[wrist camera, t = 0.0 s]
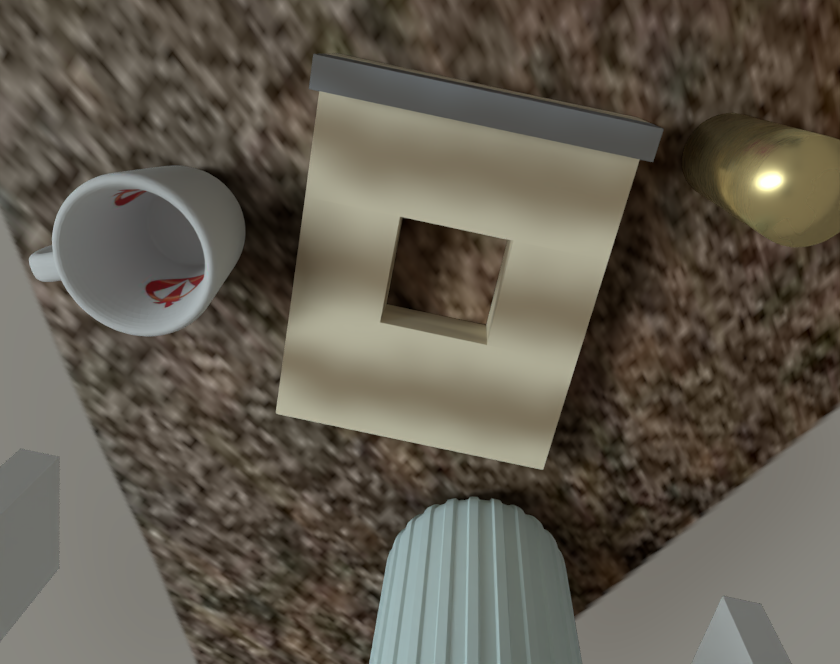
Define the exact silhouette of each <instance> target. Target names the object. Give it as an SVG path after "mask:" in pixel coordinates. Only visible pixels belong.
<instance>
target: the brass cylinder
mask: <svg viewBox="0 0 840 664" xmlns="http://www.w3.org/2000/svg"><path fill="white" fill-rule="evenodd" d="M682 170H683V174H684V176H685V179H686V181H687V182H688V184H689V185H690V186H691V187H692V188H693V189H694V190H695V191H696V192H698V193H699V194H701V195H702V196H704V197H705V198H707V199H708V200H710V201H711V202H713V203H714V204H716V205H718V206H719V207H721V208H722V209H724V210H725V211H727V212H728V213H730V214H731V215H733V216H734V217H736V218H737V219H739V220H740V221H742V222H743V223H745V224H746V225H748V226H749V227H751V228H753V229H754V230H756V231H757V232H759V233H760V234H762V235H763V236H765V237H766V238H768V239H769V240H771V241H773V242H775V243H777V244H780V245H784V246H789V247H806V246H811V245H815V244H818V243H821V242H823V241H826V240H828V239H830V238H831V237H833V236H835V235H836V234H837V233H839V232H840V140H838V139H836V138H832V137H829V136H825V135H821V134H817V133H813V132H809V131H805V130H801V129H797V128H793V127H789V126H786V125H782V124H778V123H774V122H770V121H766V120H762V119H758V118H754V117H750V116H746V115H742V114H737V113H726V114H721V115H717V116H714V117H712V118H710V119H708V120H706V121H705V122H703V123H702V124H700V125H699V126H698V127H697V128H696V129H695V130H694V131H693V132H692V134H691V135H690V137H689V138H688V140H687V142H686V144H685V147H684V150H683V154H682Z"/></svg>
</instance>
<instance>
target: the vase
mask: <svg viewBox="0 0 840 664" xmlns="http://www.w3.org/2000/svg"><path fill="white" fill-rule="evenodd" d="M369 664H582V660H581V653H580V647H579V642H578V636H577V630H576V624H575V618H574V612H573V607H572V601H571V595H570V589H569V583H568V577H567V572H566V566H565V562H564V558H563V556H562V553H561V551H560V550H559V549H558V546H557V543H556V540H555V539H554V537H553V536H552V534H551V533H550V532H549V531H548V530H545V529H543V526H542V524H541V523H540V522H539V521H538V520H537V519H536V518H535V517H534V516H531V515H526V514H525V513H524V511H523V510H522V509H521V508H519V507H517V506H515V505H509V506H508V505H505V504H502V502H501V501H500V500H497V499H493V498H491V500H490V501H489V500H480V499H479V498H478V497H469V499H468V500H458V499H457V498H454V499H450V500H447V502H446V503H445V504H442V505H438V504H436V505H432V506H430V507H428V508H427V509H426V510H425V512H424V514H419V515H416V516H415V517H414V518H413V519H412V520H410V521H409V522H408V524H407V527H406V528H405V529H403V530H402V531H401V532H400V533H399V534H398V536H397V537H396V539H395V541H394V544H393V548H392V549H391V551H390V553H389V556H388V559H387V564H386V570H385V576H384V581H383V587H382V593H381V599H380V604H379V610H378V616H377V622H376V628H375V633H374V639H373V645H372V651H371V656H370V662H369Z"/></svg>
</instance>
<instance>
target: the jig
mask: <svg viewBox="0 0 840 664" xmlns="http://www.w3.org/2000/svg"><path fill="white" fill-rule="evenodd" d="M309 89H312V90H316V91H319V98H318V106H317V113H316V120H315V128H314V135H313V143H312V150H311V157H310V165H309V172H308V179H307V187H306V194H305V202H304V209H303V216H302V224H301V231H300V239H299V246H298V253H297V261H296V268H295V276H294V283H293V290H292V298H291V305H290V312H289V320H288V327H287V335H286V342H285V349H284V357H283V364H282V372H281V379H280V386H279V394H278V401H277V408H276V414H280V415H285V416H290V417H294V418H299V419H304V420H309V421H313V422H318V423H323V424H328V425H332V426H337V427H342V428H347V429H351V430H356V431H361V432H366V433H370V434H375V435H380V436H385V437H389V438H394V439H399V440H404V441H408V442H413V443H418V444H423V445H427V446H432V447H437V448H442V449H446V450H451V451H456V452H461V453H465V454H470V455H475V456H480V457H484V458H489V459H494V460H499V461H503V462H508V463H513V464H518V465H522V466H527V467H532V468H537V469H541V470H543V468H544V465H545V462H546V459H547V455H548V452H549V449H550V446H551V443H552V439H553V436H554V433H555V430H556V427H557V423H558V420H559V417H560V414H561V411H562V407H563V404H564V401H565V398H566V394H567V391H568V388H569V385H570V382H571V378H572V375H573V372H574V369H575V366H576V362H577V359H578V356H579V353H580V350H581V346H582V343H583V340H584V337H585V334H586V330H587V327H588V324H589V321H590V317H591V314H592V311H593V308H594V305H595V301H596V298H597V295H598V292H599V289H600V285H601V282H602V279H603V276H604V273H605V269H606V266H607V263H608V260H609V257H610V253H611V250H612V247H613V244H614V240H615V237H616V234H617V231H618V228H619V224H620V221H621V218H622V215H623V212H624V208H625V205H626V202H627V199H628V196H629V192H630V189H631V186H632V183H633V179H634V176H635V173H636V170H637V167H638V163H639V160H645V161H649V162H653V161H654V158H655V155H656V152H657V148H658V145H659V142H660V139H661V136H662V133H663V130H664V129H663V128H661V127H658V126H656V125H654V124H651V123H649V122H647V121H645V120H642V119H640V118H638V117H633V116H628V115H624V114H619V113H614V112H610V111H605V110H600V109H596V108H591V107H586V106H582V105H577V104H572V103H567V102H563V101H558V100H553V99H549V98H544V97H539V96H535V95H530V94H525V93H521V92H516V91H511V90H507V89H502V88H497V87H493V86H488V85H483V84H479V83H474V82H469V81H464V80H460V79H455V78H450V77H446V76H441V75H436V74H432V73H427V72H422V71H418V70H413V69H408V68H404V67H399V66H394V65H390V64H385V63H380V62H375V61H371V60H366V59H361V58H357V57H352V56H347V55H343V54H338V53H327V54H313V62H312V69H311V77H310V85H309ZM403 217H404V218H409V219H413V220H418V221H423V222H427V223H432V224H437V225H442V226H446V227H451V228H456V229H460V230H465V231H470V232H475V233H479V234H484V235H489V236H493V237H498V238H503V239H508V241H507V245H506V249H505V253H504V257H503V261H502V265H501V269H500V273H499V277H498V281H497V285H496V289H495V293H494V297H493V301H492V305H491V309H490V312H489V316H488V320H487V324H486V325H483V324H478V323H474V322H469V321H464V320H459V319H455V318H450V317H445V316H440V315H436V314H431V313H426V312H422V311H417V310H412V309H407V308H403V307H398V306H393V305H388V304H387V298H388V293H389V288H390V283H391V277H392V272H393V267H394V262H395V256H396V251H397V246H398V241H399V236H400V230H401V225H402V220H403Z"/></svg>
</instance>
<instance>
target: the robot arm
mask: <svg viewBox="0 0 840 664" xmlns="http://www.w3.org/2000/svg"><path fill="white" fill-rule="evenodd" d="M59 460H60V458H59V456H54V455H49V454H44V453H39V452H35V451H30V450H25V449H19V450H18V451H17V452H16V453H15V454H14V455H13V456H12V457H11V458H9V459H8V460H7V461H6V462H5V463H4V464H2V465H1V466H0V641H1V640H2V639H3V638H4V636H5V635H6V634H7V633H8V631H9V630H10V629H11V628H12V627H13V625H14V624H15V623H16V621H17V620H18V619H19V618H20V616H21V615H22V614H23V612H24V611H25V610H26V609H27V608H28V606H29V605H30V604H31V603H32V601H33V600H34V599H35V598H36V596H37V595H38V594H39V592H40V591H41V590H42V589H43V588H44V586H45V585H46V584H47V583H48V581H49V580H50V579H51V578H52V576H53V575H54V574H55V573H56V571H57V570H58V569H59V485H60V484H59V481H60V478H59V474H60V473H59V471H60V469H59V467H60V466H59V465H60V464H59V463H60V461H59ZM691 664H791V662H790V659H789V658H788V655H787V654H786V652H785V650H784V648H783V646H782V644H781V642H780V640H779V638H778V636H777V634H776V632H775V630H774V628H773V626H772V624H771V622H770V620H769V618H768V616H767V614H766V613H765V610H764V609H763V607H762V605H761V604H760V603H755V602H750V601H745V600H741V599H735V598H731V597H726V596H722V598H721V600H720V602H719V605H718V607H717V609H716V611H715V613H714V615H713V617H712V620H711V622H710V624H709V626H708V628H707V630H706V633H705V635H704V637H703V639H702V641H701V643H700V645H699V648H698V650H697V652H696V654H695V656H694V658H693V661H692V663H691Z"/></svg>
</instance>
